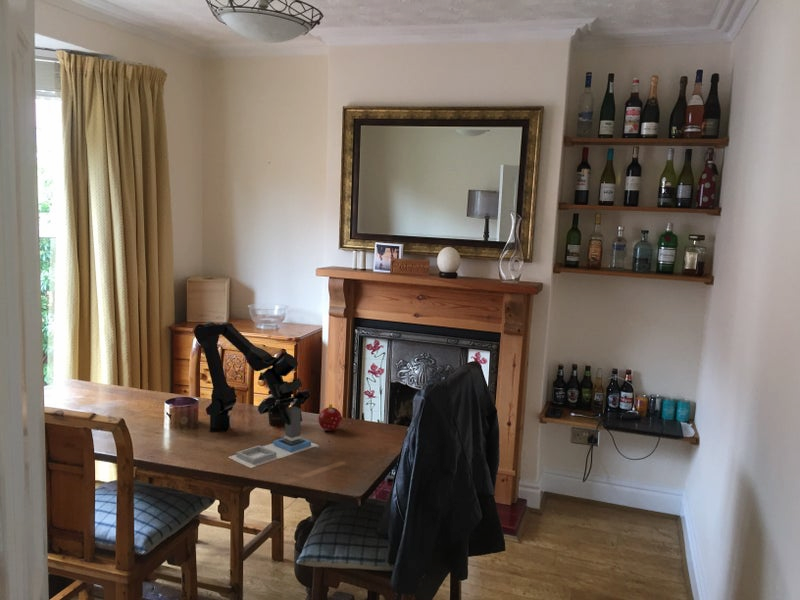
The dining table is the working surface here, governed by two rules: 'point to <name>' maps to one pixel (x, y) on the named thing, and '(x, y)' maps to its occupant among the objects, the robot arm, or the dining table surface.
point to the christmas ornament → (330, 418)
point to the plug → (293, 427)
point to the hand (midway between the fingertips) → (295, 422)
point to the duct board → (269, 452)
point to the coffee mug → (275, 420)
